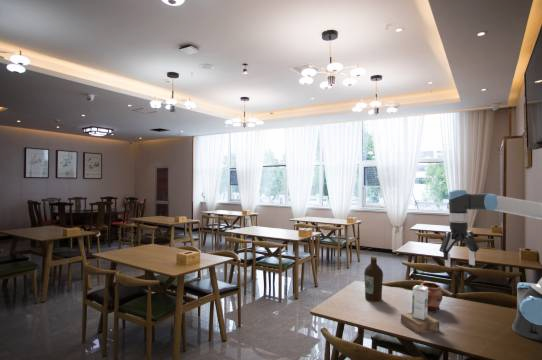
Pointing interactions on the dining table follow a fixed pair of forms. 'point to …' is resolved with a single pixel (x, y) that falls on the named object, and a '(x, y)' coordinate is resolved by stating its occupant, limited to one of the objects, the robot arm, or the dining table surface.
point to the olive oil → (373, 281)
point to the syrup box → (420, 302)
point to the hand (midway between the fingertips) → (459, 265)
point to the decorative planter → (433, 296)
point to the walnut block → (420, 323)
